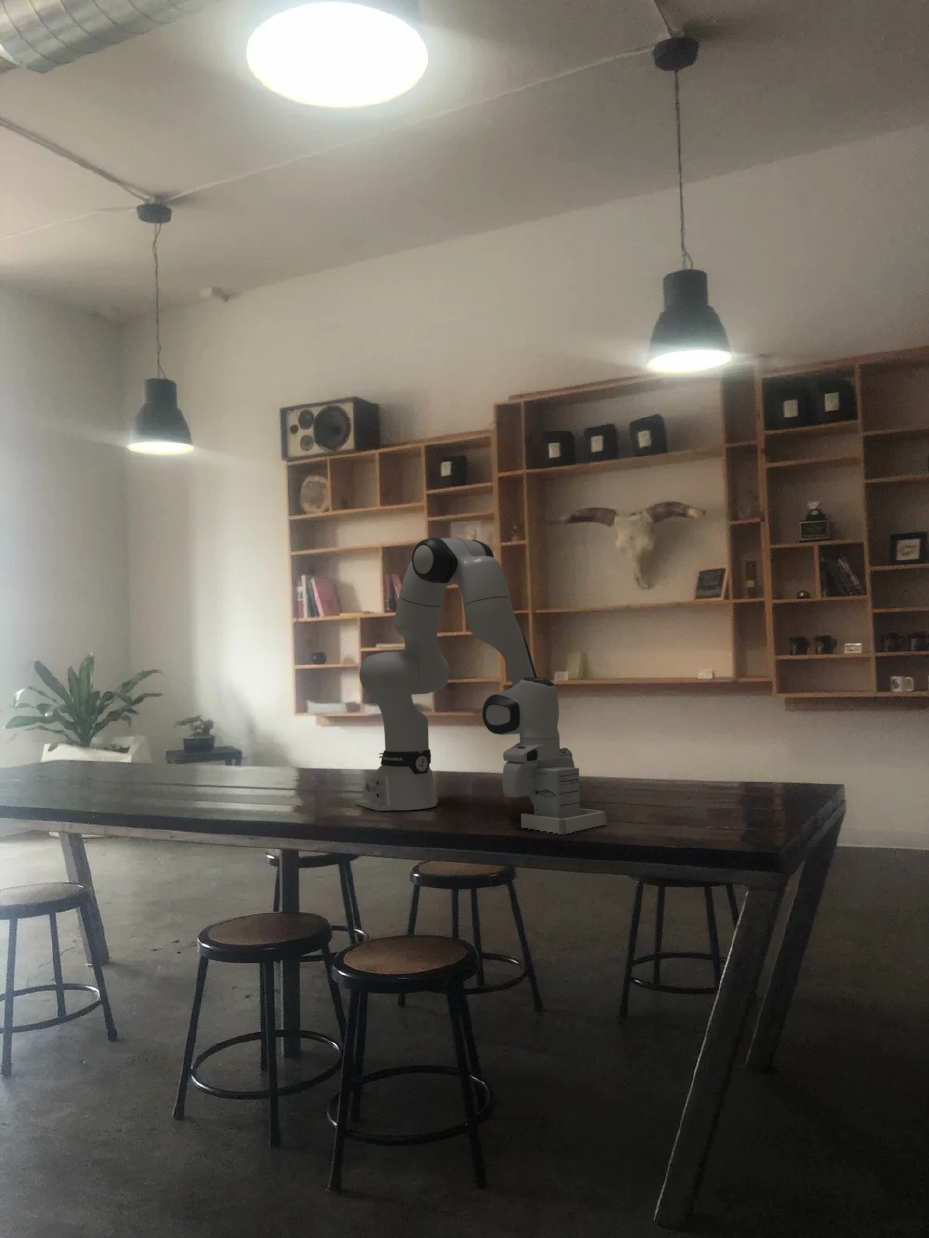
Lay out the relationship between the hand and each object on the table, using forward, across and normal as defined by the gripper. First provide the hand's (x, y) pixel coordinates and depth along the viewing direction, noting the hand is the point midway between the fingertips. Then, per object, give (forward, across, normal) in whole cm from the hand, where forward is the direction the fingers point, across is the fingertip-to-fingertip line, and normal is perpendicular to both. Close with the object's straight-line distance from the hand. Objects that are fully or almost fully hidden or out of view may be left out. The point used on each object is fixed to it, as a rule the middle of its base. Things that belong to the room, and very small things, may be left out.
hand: (541, 813), depth 209 cm
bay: (+2, 0, +7) cm, 7 cm away
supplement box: (+2, 0, +5) cm, 5 cm away
